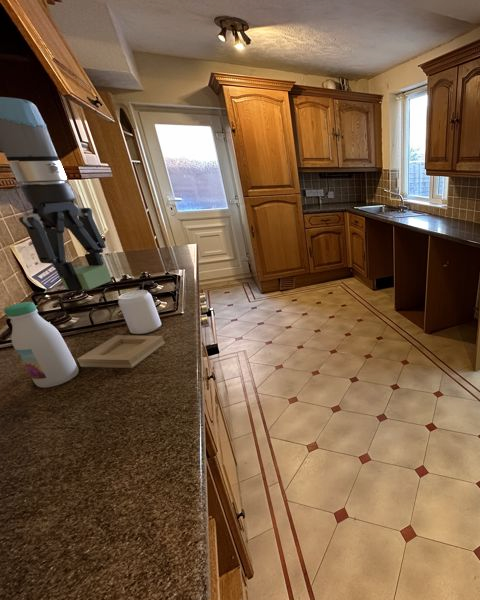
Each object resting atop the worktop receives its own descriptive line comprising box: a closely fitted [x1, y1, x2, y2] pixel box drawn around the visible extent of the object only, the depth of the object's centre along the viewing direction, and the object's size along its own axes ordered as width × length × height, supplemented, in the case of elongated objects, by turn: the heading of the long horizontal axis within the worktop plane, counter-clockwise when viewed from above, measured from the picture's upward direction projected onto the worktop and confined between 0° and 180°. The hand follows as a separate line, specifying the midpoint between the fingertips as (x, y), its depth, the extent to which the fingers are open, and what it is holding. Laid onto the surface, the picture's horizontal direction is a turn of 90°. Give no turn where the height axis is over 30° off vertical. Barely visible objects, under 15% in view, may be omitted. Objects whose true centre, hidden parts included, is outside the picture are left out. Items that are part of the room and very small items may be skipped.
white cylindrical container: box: [117, 289, 162, 335], centre depth 99 cm, size 8×8×12 cm
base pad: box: [76, 334, 166, 369], centre depth 88 cm, size 14×12×2 cm
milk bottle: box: [3, 301, 80, 389], centre depth 75 cm, size 8×8×20 cm
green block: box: [59, 264, 113, 291], centre depth 77 cm, size 6×6×4 cm
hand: (89, 283), depth 78 cm, fingers closed on green block, 6 cm apart
